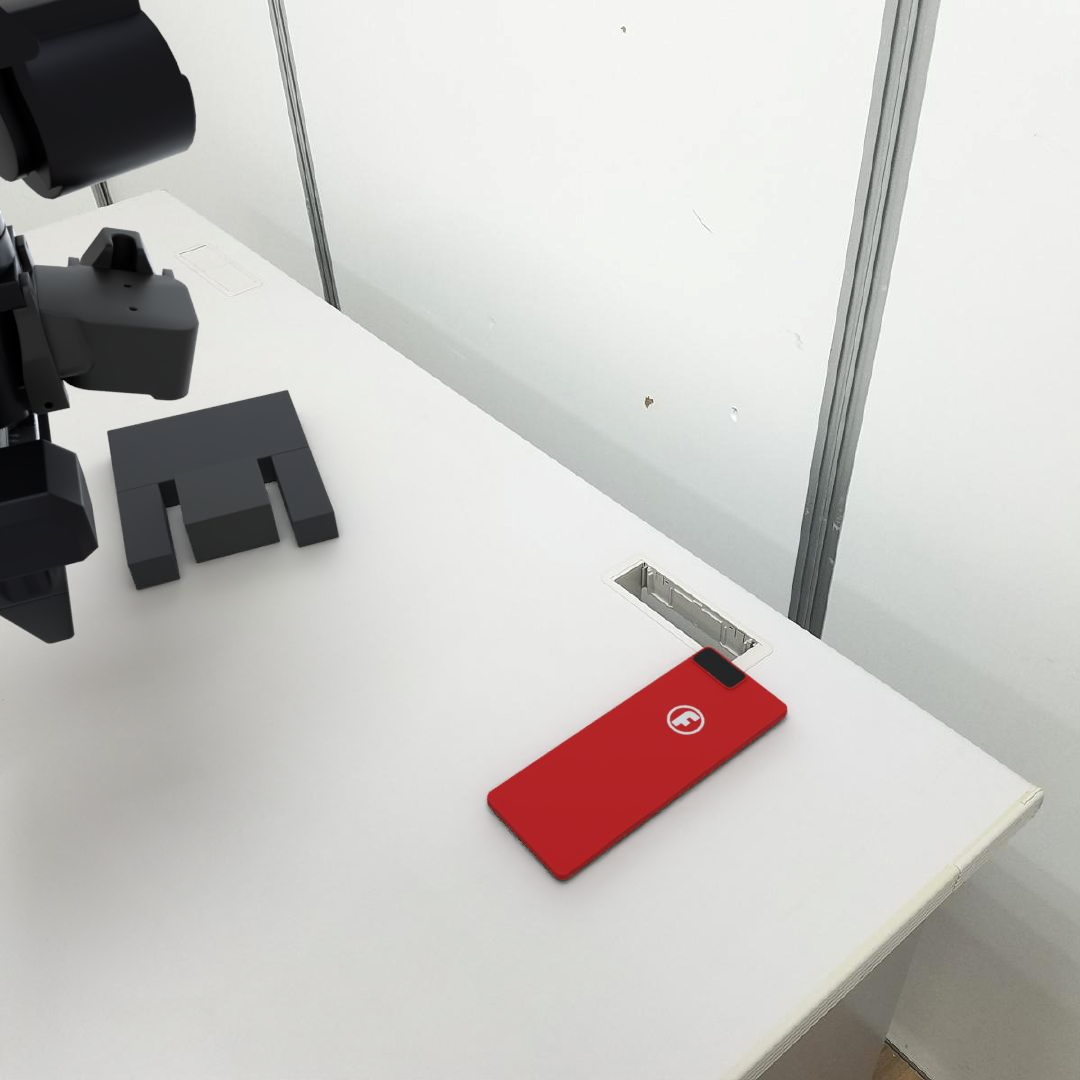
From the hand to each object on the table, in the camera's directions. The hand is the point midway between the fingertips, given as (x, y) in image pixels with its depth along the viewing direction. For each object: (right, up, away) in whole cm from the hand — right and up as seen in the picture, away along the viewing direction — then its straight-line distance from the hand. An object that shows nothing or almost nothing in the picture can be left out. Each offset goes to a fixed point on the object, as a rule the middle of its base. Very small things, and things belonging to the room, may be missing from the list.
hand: (54, 569), depth 50 cm
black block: (+2, +2, +20) cm, 20 cm away
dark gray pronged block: (+1, +4, +22) cm, 23 cm away
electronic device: (+26, -9, +6) cm, 29 cm away
